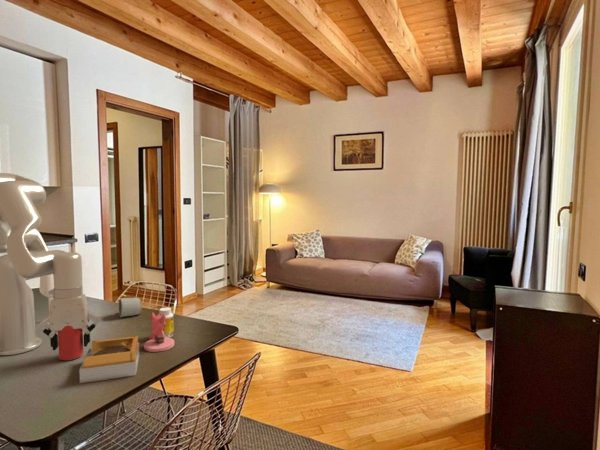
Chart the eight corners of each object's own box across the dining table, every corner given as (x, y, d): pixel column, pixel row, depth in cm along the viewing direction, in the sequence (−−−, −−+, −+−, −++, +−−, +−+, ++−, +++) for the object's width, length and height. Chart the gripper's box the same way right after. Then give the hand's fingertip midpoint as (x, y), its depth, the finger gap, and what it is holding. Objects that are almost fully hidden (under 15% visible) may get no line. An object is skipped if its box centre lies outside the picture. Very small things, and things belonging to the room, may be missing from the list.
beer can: (71, 362, 111) (70, 324, 110) (53, 360, 112) (51, 322, 111) (88, 353, 117) (87, 317, 116) (71, 351, 118) (69, 315, 117)
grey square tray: (79, 383, 99) (79, 360, 98) (89, 360, 112) (89, 340, 111) (135, 375, 104) (135, 353, 103) (139, 354, 117) (138, 335, 116)
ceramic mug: (142, 316, 152) (142, 298, 152) (121, 319, 148) (121, 301, 147) (137, 309, 161) (136, 292, 160) (117, 312, 156) (116, 295, 156)
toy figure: (180, 343, 126) (180, 309, 125) (159, 354, 117) (158, 318, 116) (159, 338, 130) (158, 305, 129) (137, 348, 121) (136, 313, 120)
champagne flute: (53, 324, 141) (50, 263, 139) (36, 323, 141) (33, 263, 139) (65, 318, 148) (62, 260, 146) (48, 317, 148) (46, 260, 146)
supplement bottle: (173, 338, 130) (173, 310, 129) (157, 340, 128) (156, 312, 127) (173, 332, 135) (173, 305, 134) (157, 334, 133) (157, 307, 132)
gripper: (31, 298, 106) (34, 355, 108) (98, 293, 112) (100, 347, 114) (39, 291, 113) (42, 345, 115) (102, 287, 119) (103, 338, 121)
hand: (71, 346), depth 114 cm, fingers open, 7 cm apart
